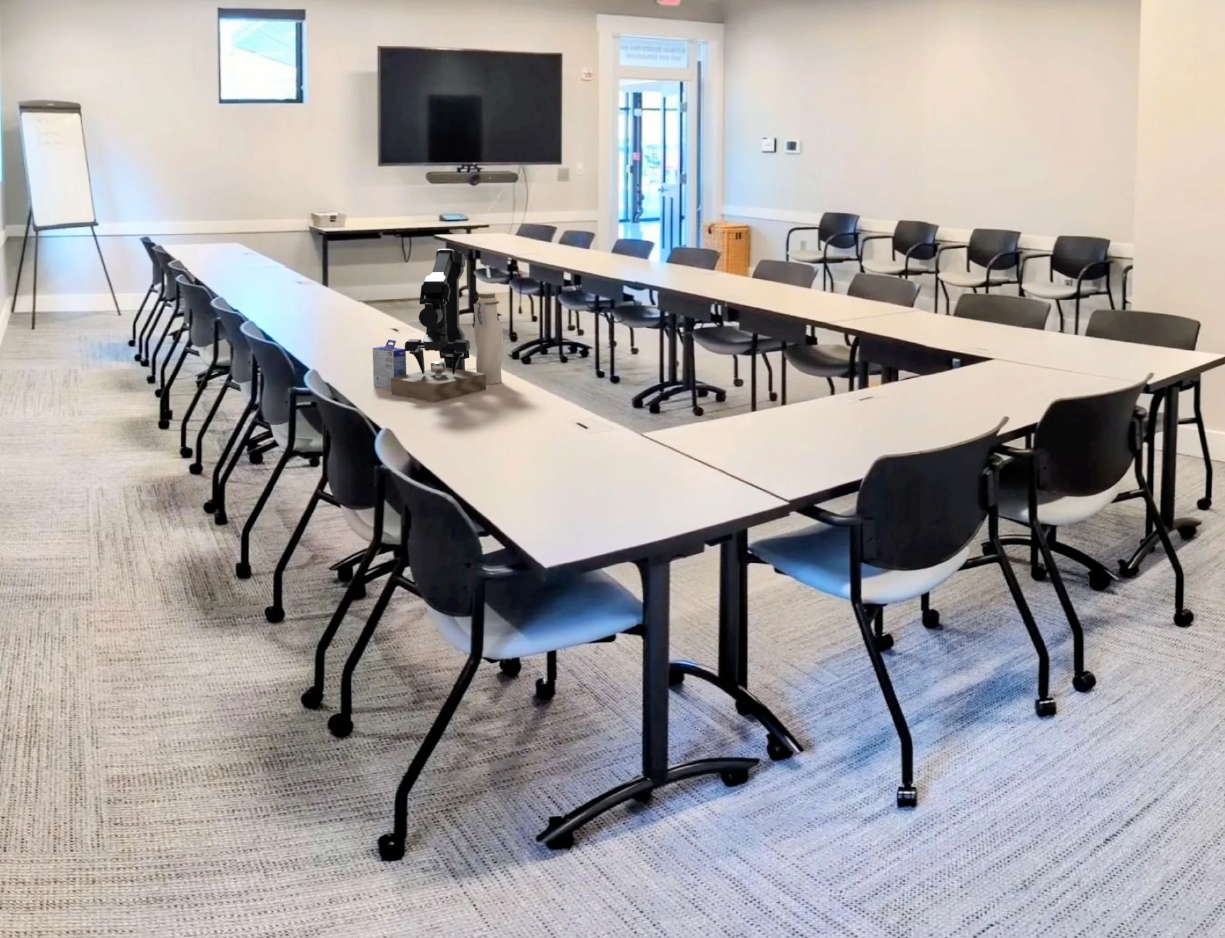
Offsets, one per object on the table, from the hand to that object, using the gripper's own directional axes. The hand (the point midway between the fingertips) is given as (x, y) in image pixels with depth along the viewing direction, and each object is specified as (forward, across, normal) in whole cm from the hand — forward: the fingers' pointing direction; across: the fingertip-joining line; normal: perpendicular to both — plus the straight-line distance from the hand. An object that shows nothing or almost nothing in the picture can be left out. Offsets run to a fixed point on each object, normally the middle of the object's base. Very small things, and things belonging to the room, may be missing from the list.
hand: (438, 373), depth 341 cm
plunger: (+5, 0, 0) cm, 5 cm away
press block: (+6, 0, 0) cm, 6 cm away
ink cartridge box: (+6, -16, +6) cm, 18 cm away
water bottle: (+6, +13, +16) cm, 21 cm away
